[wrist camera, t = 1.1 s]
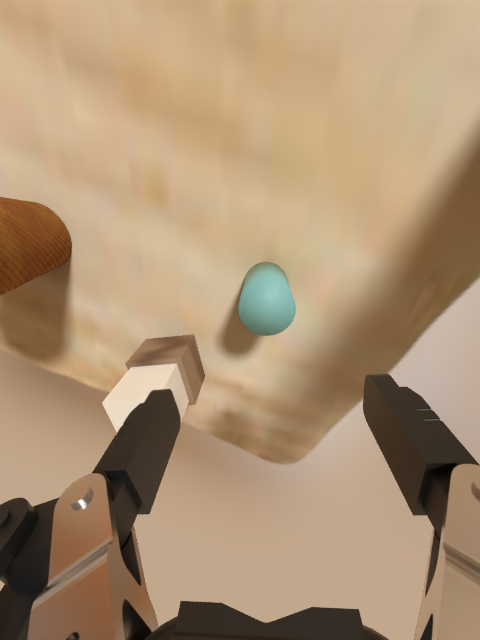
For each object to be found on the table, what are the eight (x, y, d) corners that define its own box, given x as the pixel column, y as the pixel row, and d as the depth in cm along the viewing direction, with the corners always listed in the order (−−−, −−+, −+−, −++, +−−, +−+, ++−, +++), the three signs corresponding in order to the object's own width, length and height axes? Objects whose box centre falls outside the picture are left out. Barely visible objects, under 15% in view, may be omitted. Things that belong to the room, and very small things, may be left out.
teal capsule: (285, 259, 24) (293, 279, 17) (288, 301, 26) (297, 332, 19) (241, 265, 24) (233, 286, 18) (247, 305, 26) (242, 337, 20)
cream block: (177, 363, 24) (157, 399, 20) (189, 401, 26) (174, 441, 22) (130, 367, 25) (101, 403, 20) (146, 404, 27) (122, 443, 22)
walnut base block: (194, 334, 28) (181, 358, 24) (205, 375, 31) (195, 404, 26) (146, 338, 29) (125, 363, 25) (160, 378, 32) (144, 407, 27)
